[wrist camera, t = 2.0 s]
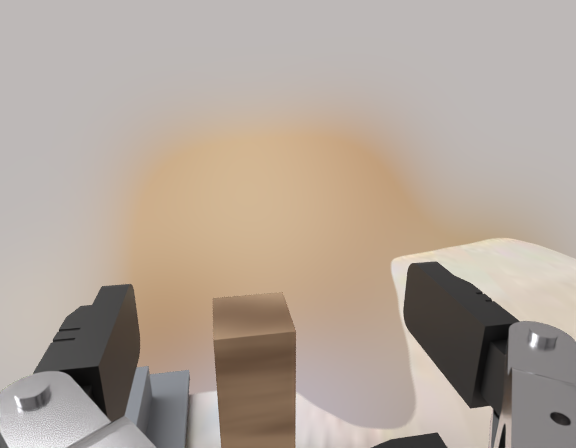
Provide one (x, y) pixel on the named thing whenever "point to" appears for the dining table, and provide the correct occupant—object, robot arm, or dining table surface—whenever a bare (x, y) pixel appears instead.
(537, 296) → the dining table surface
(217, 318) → the walnut block
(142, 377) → the slate stand
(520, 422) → the robot arm
